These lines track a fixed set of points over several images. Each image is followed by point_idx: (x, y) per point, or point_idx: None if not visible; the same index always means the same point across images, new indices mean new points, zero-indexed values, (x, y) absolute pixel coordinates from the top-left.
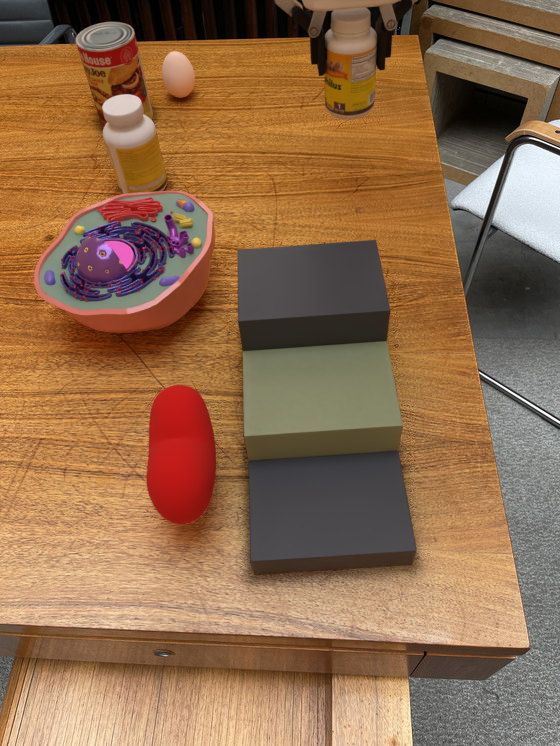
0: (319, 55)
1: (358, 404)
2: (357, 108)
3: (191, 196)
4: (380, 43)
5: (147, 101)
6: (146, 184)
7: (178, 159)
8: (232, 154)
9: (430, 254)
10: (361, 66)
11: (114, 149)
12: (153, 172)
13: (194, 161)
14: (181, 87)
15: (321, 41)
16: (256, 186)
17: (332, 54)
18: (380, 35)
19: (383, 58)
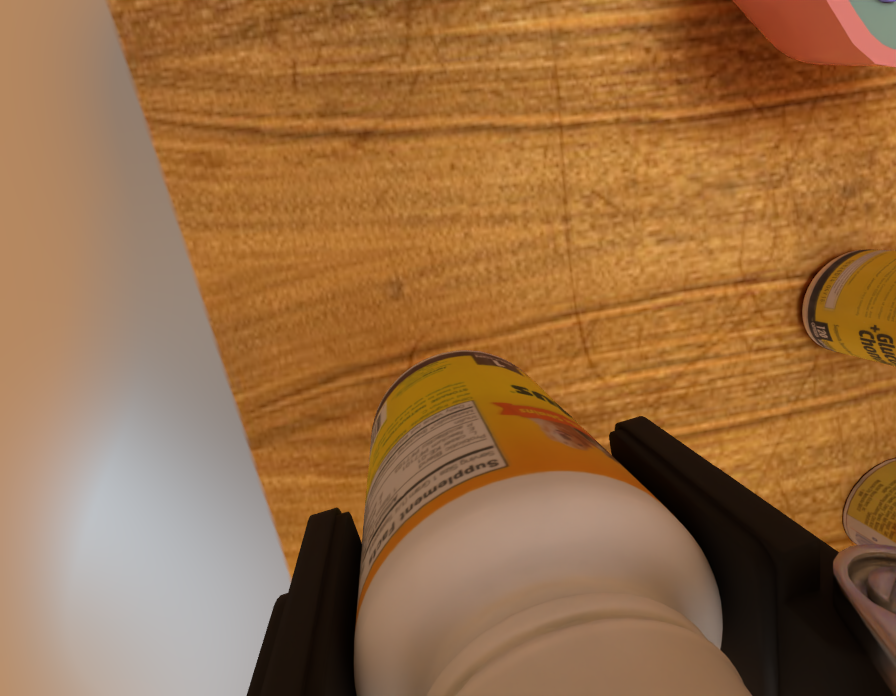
0: (710, 469)
1: None
2: (425, 369)
3: (860, 32)
4: (320, 630)
5: (887, 532)
6: (868, 259)
7: (783, 397)
8: (680, 430)
9: (205, 157)
10: (431, 455)
11: None
12: (872, 279)
13: (752, 396)
14: None
15: (773, 531)
16: (620, 337)
17: (635, 482)
18: (314, 689)
19: (310, 552)
